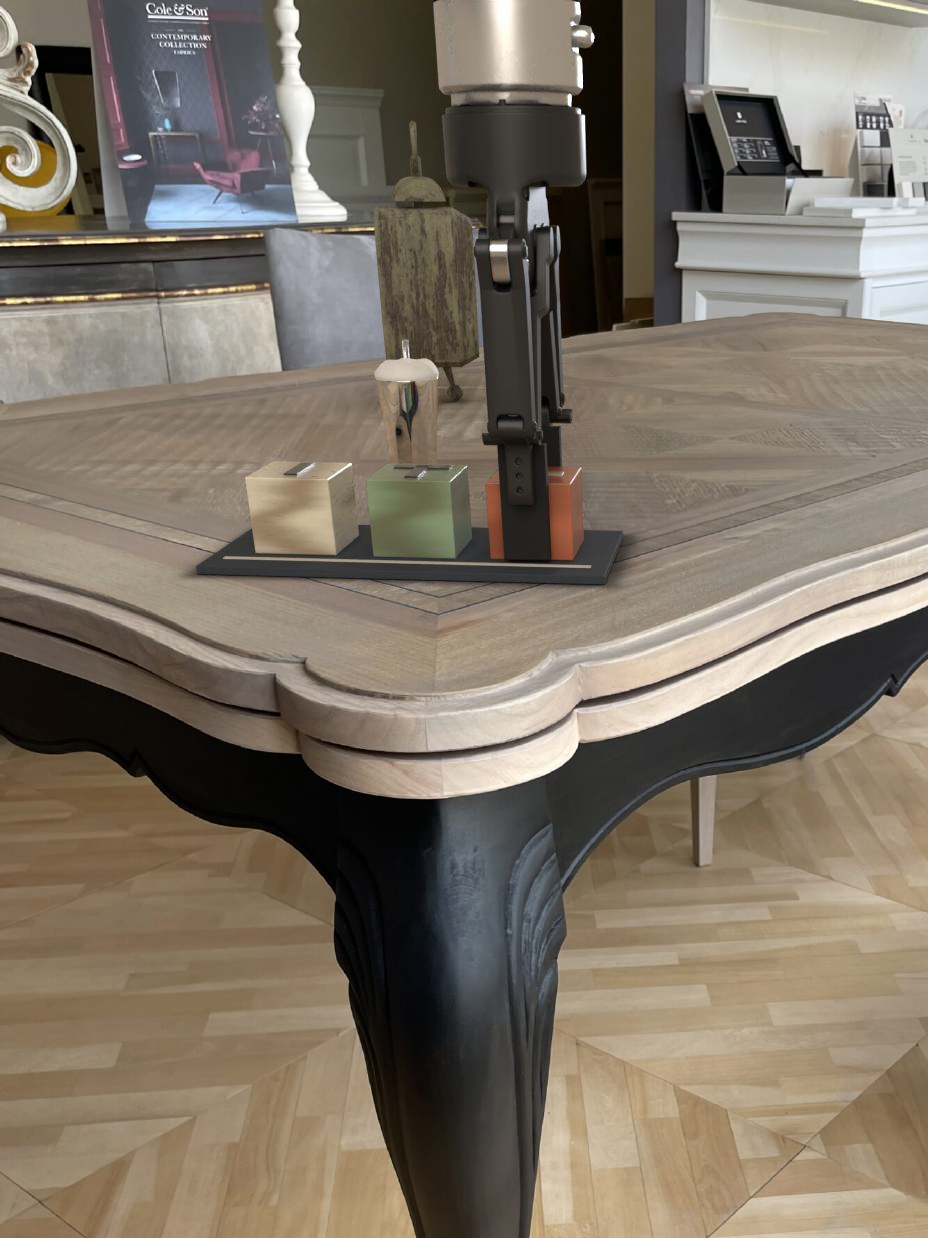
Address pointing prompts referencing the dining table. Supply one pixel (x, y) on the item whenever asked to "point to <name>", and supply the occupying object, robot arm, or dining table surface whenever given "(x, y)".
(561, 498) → the copper orange cube
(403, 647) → the dining table surface
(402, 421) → the milkshake
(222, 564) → the word mat
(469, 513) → the frosted jade cube
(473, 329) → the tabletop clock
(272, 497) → the slotted beige cube
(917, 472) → the dining table surface
